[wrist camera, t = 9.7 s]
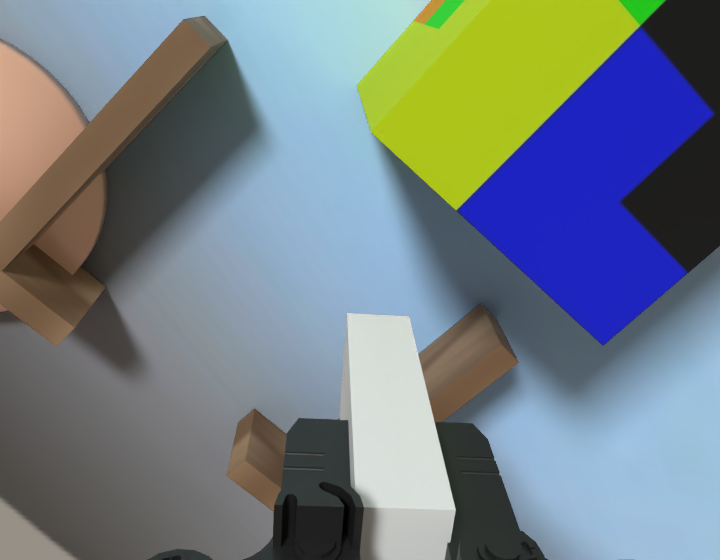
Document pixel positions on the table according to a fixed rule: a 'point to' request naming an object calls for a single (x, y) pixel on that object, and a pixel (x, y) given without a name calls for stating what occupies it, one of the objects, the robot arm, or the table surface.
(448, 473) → the robot arm
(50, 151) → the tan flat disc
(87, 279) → the pocket frame
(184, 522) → the table surface
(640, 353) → the table surface
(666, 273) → the puzzle toy
